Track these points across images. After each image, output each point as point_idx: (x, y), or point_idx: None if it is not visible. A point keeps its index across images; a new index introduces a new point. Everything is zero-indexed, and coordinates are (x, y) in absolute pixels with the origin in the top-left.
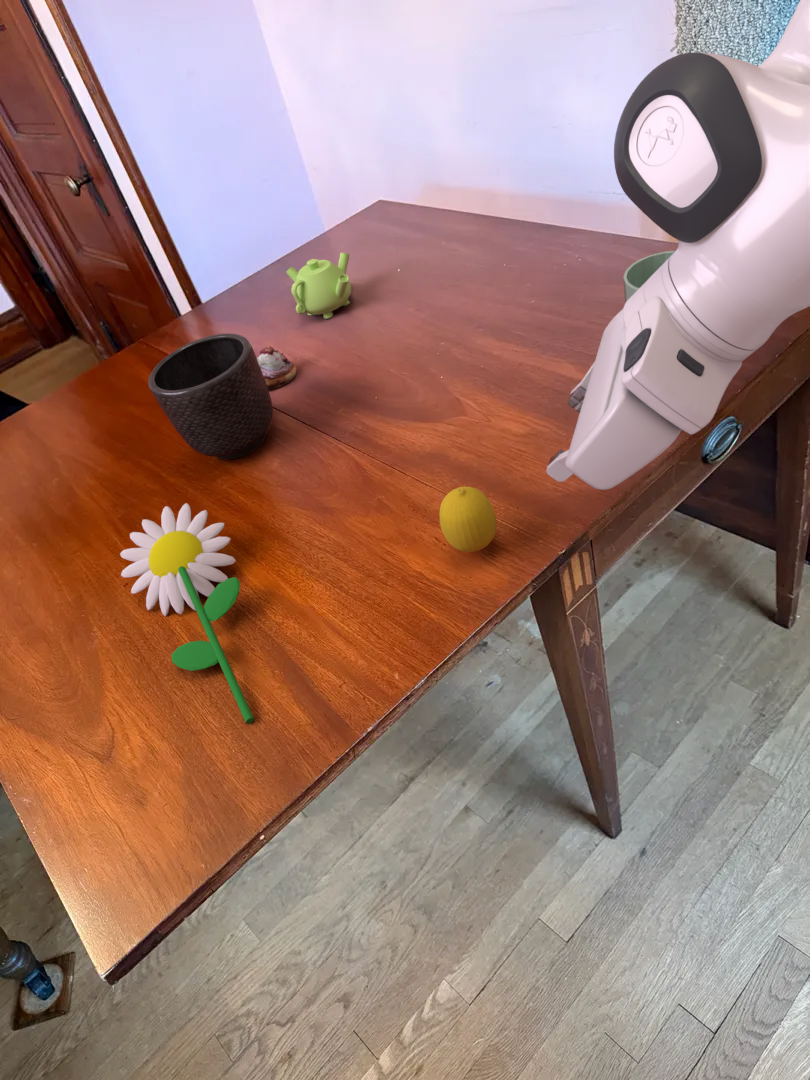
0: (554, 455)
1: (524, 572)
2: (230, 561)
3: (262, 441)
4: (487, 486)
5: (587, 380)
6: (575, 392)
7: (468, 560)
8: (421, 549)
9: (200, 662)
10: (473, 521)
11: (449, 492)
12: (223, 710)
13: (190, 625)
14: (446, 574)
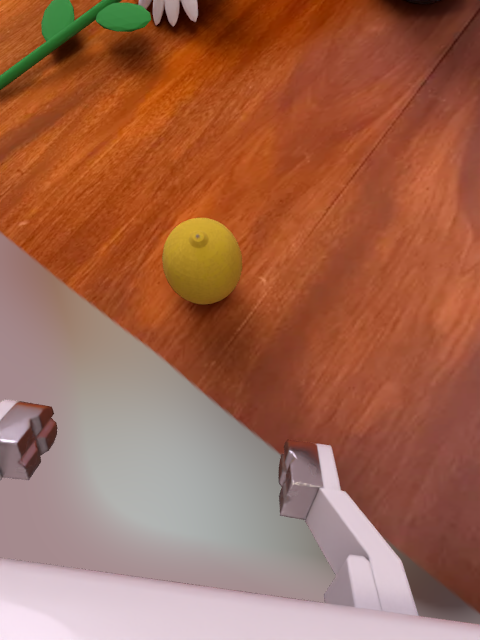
0: (25, 421)
1: (160, 347)
2: (191, 15)
3: (416, 2)
4: (322, 285)
5: (334, 515)
6: (302, 468)
7: None
8: None
9: (46, 25)
10: (167, 269)
11: (214, 224)
12: None
13: None
14: None
